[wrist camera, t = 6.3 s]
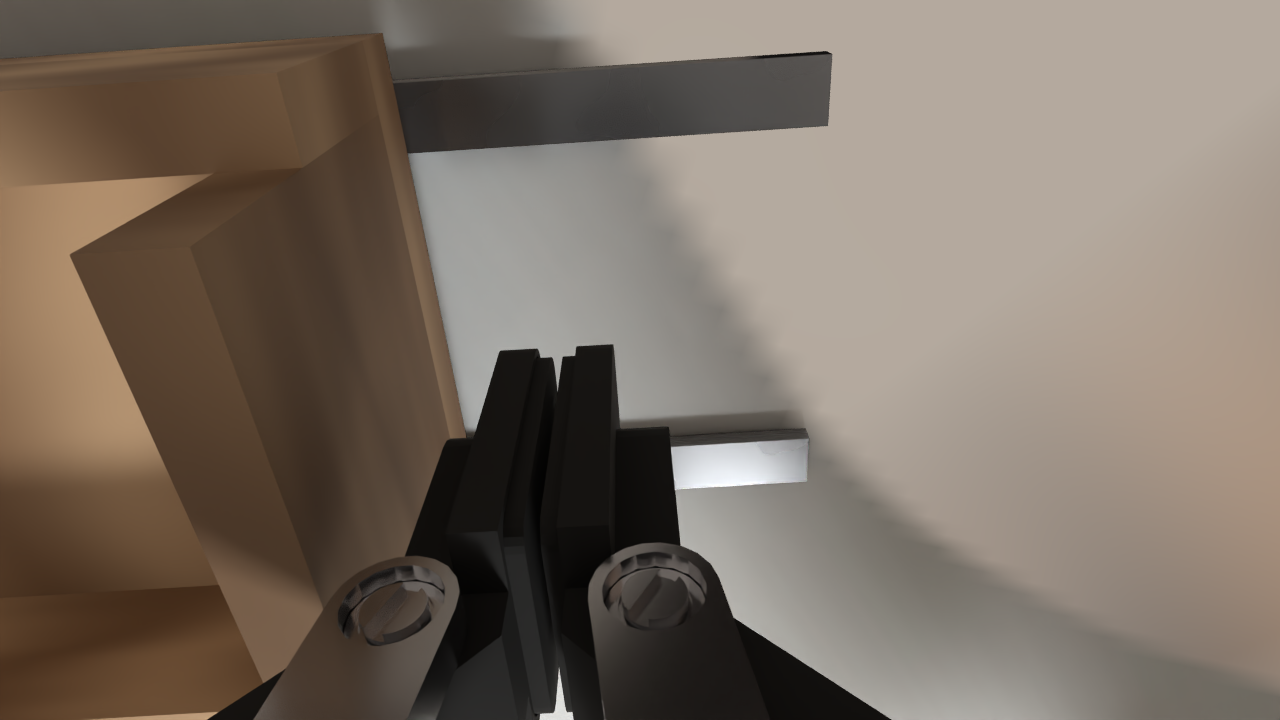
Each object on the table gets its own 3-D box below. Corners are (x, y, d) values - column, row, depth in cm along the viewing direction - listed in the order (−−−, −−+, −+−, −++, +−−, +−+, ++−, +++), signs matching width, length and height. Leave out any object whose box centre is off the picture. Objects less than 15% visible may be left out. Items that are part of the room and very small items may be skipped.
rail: (829, -6, 13) (870, 4, 11) (801, 500, 18) (825, 573, 16) (-771, 102, 13) (-1037, 132, 11) (-336, 569, 18) (-460, 650, 16)
